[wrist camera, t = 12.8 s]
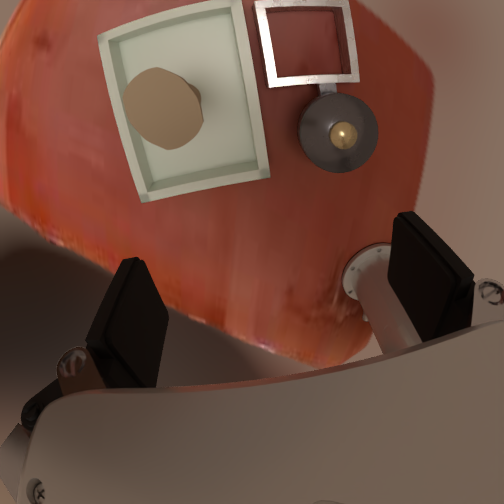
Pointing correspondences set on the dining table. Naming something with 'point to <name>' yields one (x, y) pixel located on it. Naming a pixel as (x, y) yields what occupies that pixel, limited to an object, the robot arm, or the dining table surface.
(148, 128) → the handle
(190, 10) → the tray
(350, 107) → the bracket
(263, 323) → the dining table surface
